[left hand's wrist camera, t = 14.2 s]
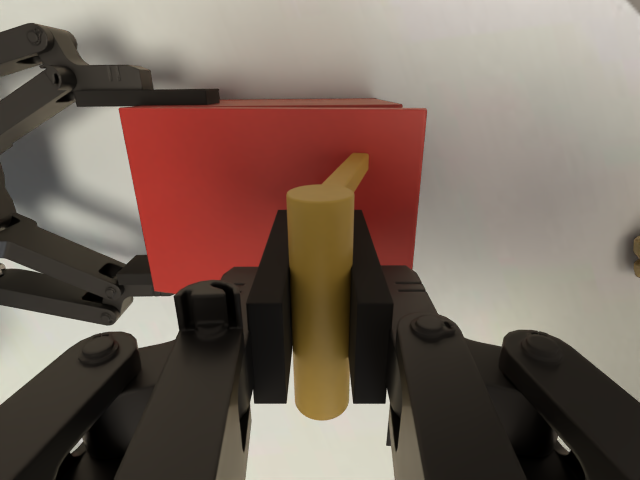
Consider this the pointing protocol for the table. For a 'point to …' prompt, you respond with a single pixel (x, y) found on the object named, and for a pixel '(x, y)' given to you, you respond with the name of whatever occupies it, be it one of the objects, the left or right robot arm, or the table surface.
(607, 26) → the table surface
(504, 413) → the left robot arm
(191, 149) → the lid
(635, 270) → the sculpture
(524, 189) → the table surface
